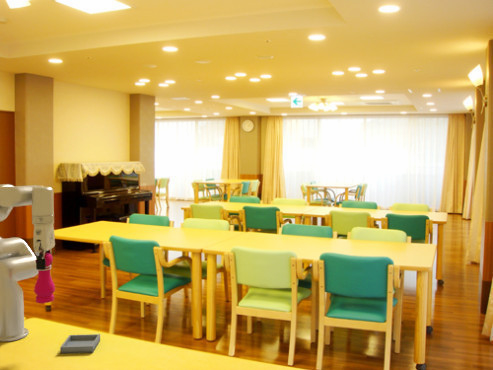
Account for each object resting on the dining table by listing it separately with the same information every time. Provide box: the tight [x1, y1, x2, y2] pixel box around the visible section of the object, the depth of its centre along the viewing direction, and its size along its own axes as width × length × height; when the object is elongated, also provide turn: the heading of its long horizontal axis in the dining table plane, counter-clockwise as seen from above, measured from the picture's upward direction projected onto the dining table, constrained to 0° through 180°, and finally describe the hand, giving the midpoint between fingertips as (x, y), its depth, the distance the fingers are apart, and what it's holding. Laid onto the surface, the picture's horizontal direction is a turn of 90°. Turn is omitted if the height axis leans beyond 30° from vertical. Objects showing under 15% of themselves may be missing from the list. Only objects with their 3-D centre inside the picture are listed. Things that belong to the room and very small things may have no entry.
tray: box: [60, 333, 101, 355], centre depth 181 cm, size 12×12×2 cm
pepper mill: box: [33, 249, 56, 304], centre depth 179 cm, size 7×7×20 cm
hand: (44, 266), depth 178 cm, fingers closed on pepper mill, 6 cm apart
